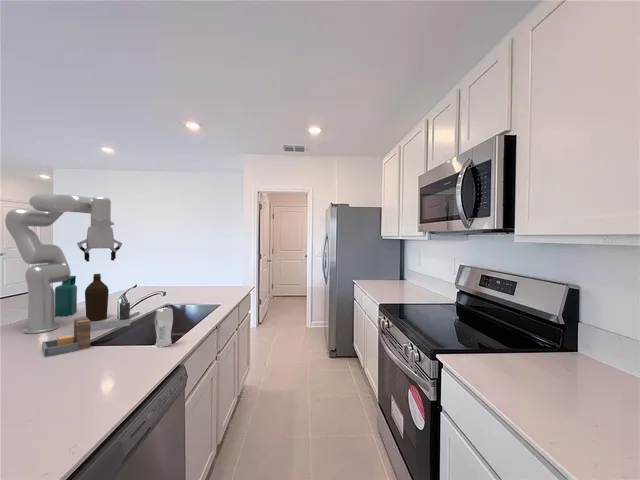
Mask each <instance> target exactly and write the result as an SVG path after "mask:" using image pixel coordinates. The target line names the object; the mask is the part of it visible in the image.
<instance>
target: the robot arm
mask: <svg viewBox="0 0 640 480" xmlns="http://www.w3.org/2000/svg"><path fill="white" fill-rule="evenodd" d="M28 201H29V205H30V207H32V208H14V209H11V210H9V211H7V213H6V214H5V215H6V216H5V219H4V223H5V227H6V229H7V231H8V232H9V234H10V236H11V237H12V238H13V241H14V242H15V245H16V247H17V249H18V252H19V254H20V257H21V259H22V260H23V262H24V263H25V264H28V265H33V266H30V267H28V269H27V270H26V271H25V274H24V275H25V276H24V277H25V282H26V284H27V285H26V286H27V299H28V300H27V306H28V307H27V327H25V328H24V329H23V331H22V332H23V333H24V334H41V333H45V332H52V331H54V330H57V329H58V328H59V327H60V326H59V324H58V323H55V289H54V288H53V287H52V285H51V284H54V283H62V281H65V280H67V279H68V278H69V277H70V276H71V269H70V266H69V263H68V261H67V259H66V256H65V254H64V252H63V249H62V248H61V247H59V246H58V245H55V244H43V243H42V242H41V240H40V238H39V236H38V233H37V234H36V232H35V231H33V230H32V229H31V228H29V227H36V228H37V227H39V228H41V227H43V228H44V227H45V228H46V227H49V226H52V225H53V224H54V223H56V221H58V219H59V218H60V217H61V216H62V215H63V214H64V213H66V212H68V213H69V212H71V213H79V214H90V226H88V227H87V231H86V232H87V233H86V239H84V240H81V241H79V242H78V241H77V243H76V245H77V247H78V248H79V250H81V251H82V252H83V253H84V258H83V259H84V261H85V262H90V252H89V251H91V250H92V249H109V250H111V252H110V260H111V261H113V262H114V261H115V259H116V258H117V257H116V256H117V252H118V251H119V250H120V249H121V247H122V245H123V242H122V241H118V240H116V239H115V238H114V237H115V236H114V230H113V227H112V226H115V222H114V221H112V220H111V214H112V213H111V211H112V210H111V209H112V206H111V205H112V202H111V199H110V198H108V197H105V196H104V197H102V196H94V197H89V196H88V197H87V196H82V195H72V194H56V193H55V194H52V193H37V194H34V195H32V196H31V197H30V198H29V200H28ZM84 244H86V245H85V246H86V248H85V247H84V246H83V245H84ZM115 244H117V246H116V247H115Z"/></svg>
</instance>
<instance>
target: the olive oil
mask: <svg viewBox="0 0 640 480" xmlns="http://www.w3.org/2000/svg"><path fill="white" fill-rule="evenodd" d="M109 291H110V290H109V287H108V285H106V283H104V282H103V281H102V275H101V273H93V281H92V282H91V283H89V284H88V286H87V287H86V288H85V290H84V300H85V301H84V303H85V316H86V317H87V318H88V319H89V320H90V321H91V322H101V321H105V320H106V319H108V307H109V306H108V305H109V302H108V301H109ZM100 320H101V321H100Z"/></svg>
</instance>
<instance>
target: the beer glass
mask: <svg viewBox="0 0 640 480" xmlns="http://www.w3.org/2000/svg"><path fill="white" fill-rule="evenodd" d="M173 322H174V312H173V308H172V307H161V308H160V307H159V308H157V309H155V313H154V328H155V334H156V341H155V347H157V346H165V347H168V346H170V345H172V344H173V343H172V335H171V334H172V329H173V324H174V323H173Z"/></svg>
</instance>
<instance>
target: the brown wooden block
mask: <svg viewBox="0 0 640 480" xmlns="http://www.w3.org/2000/svg"><path fill="white" fill-rule="evenodd" d="M91 323H92V321H90V320H89V319H88V318H87V317H86V315H85V316H78V317H74V318H73V337H74V343H77V342H78V351H79V350H85V349H84V348H86V349H90V348H91V332H90V329H91ZM89 347H90V348H89Z"/></svg>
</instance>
